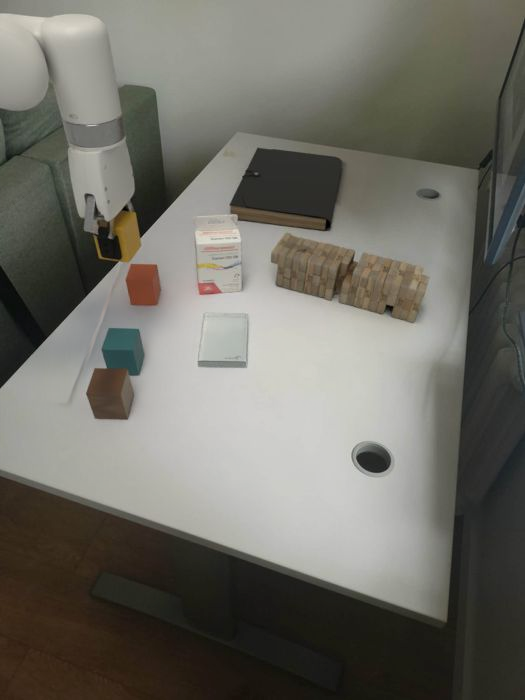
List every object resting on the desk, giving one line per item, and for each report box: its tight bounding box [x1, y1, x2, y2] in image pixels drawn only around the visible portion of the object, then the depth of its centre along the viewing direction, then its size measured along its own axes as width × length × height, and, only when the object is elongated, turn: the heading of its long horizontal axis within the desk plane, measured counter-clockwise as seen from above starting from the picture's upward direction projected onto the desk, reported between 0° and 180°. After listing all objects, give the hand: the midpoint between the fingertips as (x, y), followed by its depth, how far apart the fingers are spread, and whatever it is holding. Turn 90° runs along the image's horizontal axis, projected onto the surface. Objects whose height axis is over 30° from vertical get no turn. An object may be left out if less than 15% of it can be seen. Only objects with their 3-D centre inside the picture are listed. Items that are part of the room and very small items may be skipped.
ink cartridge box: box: [193, 214, 243, 295], centre depth 94 cm, size 9×5×15 cm, turn 100°
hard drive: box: [197, 312, 249, 369], centre depth 87 cm, size 2×8×12 cm
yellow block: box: [92, 210, 142, 264], centre depth 76 cm, size 5×5×6 cm
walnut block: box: [85, 367, 135, 420], centre depth 75 cm, size 5×5×6 cm
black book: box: [229, 147, 343, 232], centre depth 126 cm, size 33×4×24 cm
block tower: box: [270, 232, 430, 324], centre depth 96 cm, size 8×8×29 cm
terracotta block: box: [125, 263, 162, 306], centre depth 94 cm, size 5×5×6 cm
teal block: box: [100, 327, 145, 376], centre depth 81 cm, size 5×5×6 cm
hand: (119, 246), depth 77 cm, fingers closed on yellow block, 5 cm apart
